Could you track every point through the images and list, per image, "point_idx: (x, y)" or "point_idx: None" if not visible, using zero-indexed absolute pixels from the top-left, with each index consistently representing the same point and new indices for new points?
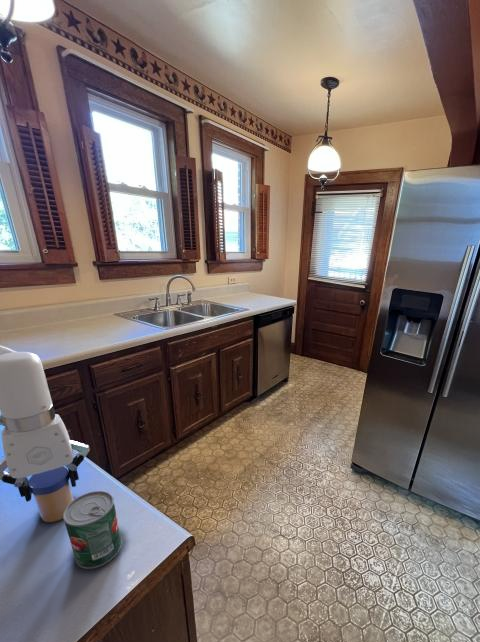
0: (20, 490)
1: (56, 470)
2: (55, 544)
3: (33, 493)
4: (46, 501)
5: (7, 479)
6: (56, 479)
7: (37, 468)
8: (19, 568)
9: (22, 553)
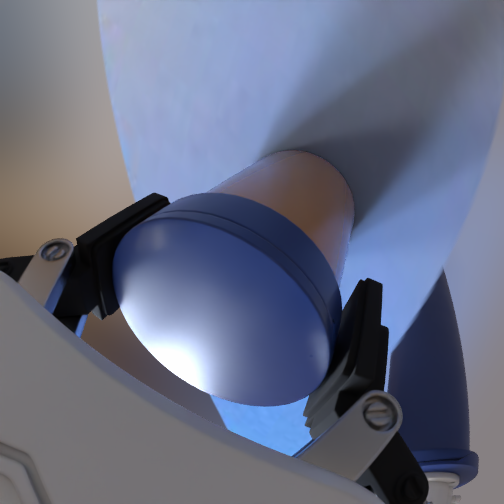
0: (379, 363)
1: (162, 339)
2: (358, 39)
3: (337, 288)
4: (305, 203)
5: (408, 491)
6: (163, 265)
7: (102, 470)
8: (476, 45)
9: (457, 101)
